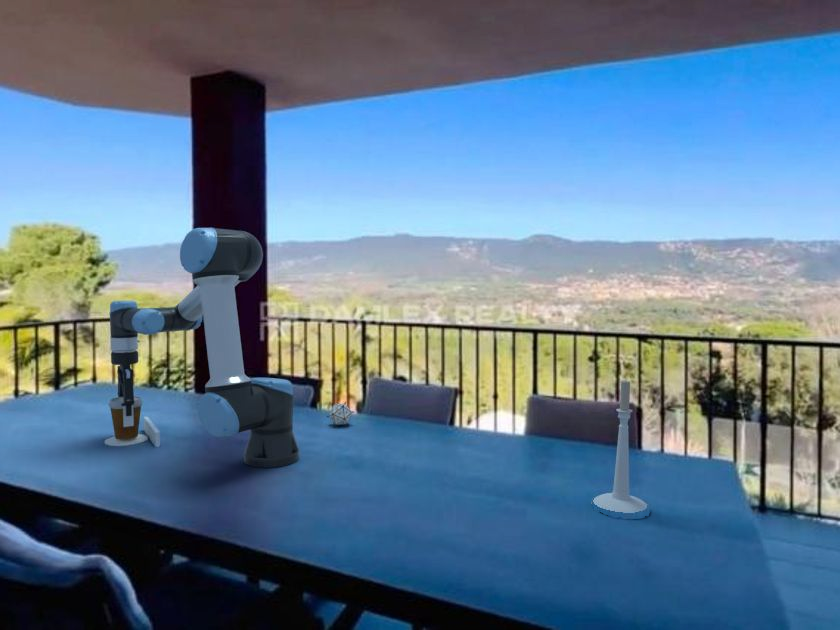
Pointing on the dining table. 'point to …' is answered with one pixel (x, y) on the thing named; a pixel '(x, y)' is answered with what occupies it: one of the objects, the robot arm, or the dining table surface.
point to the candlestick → (621, 465)
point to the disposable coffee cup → (117, 418)
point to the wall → (152, 432)
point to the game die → (340, 414)
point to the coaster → (126, 441)
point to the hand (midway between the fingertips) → (126, 422)
